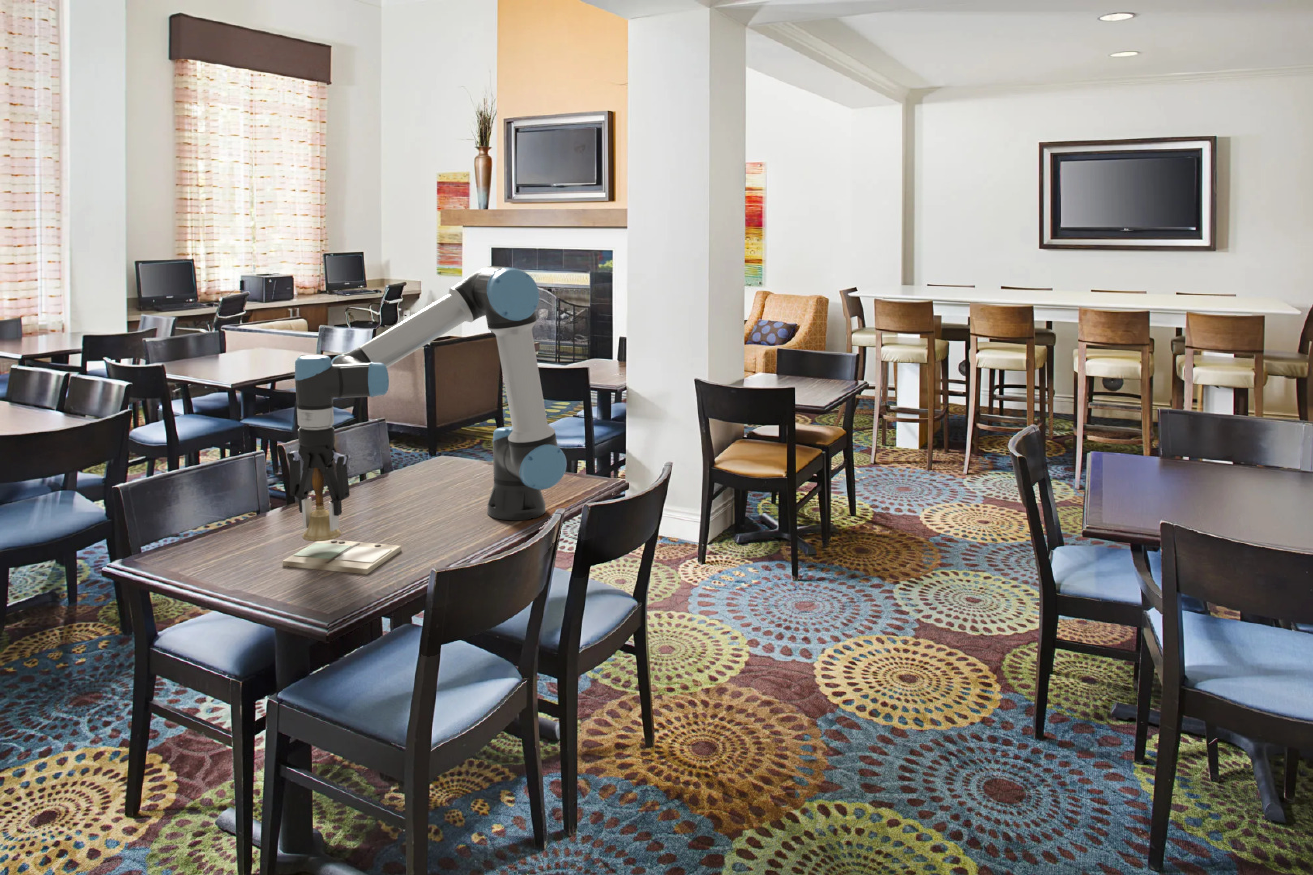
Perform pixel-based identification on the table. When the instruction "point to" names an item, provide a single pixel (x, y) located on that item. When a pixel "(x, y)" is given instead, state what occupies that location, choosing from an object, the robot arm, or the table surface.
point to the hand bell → (319, 514)
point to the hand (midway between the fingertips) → (321, 527)
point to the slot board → (342, 556)
